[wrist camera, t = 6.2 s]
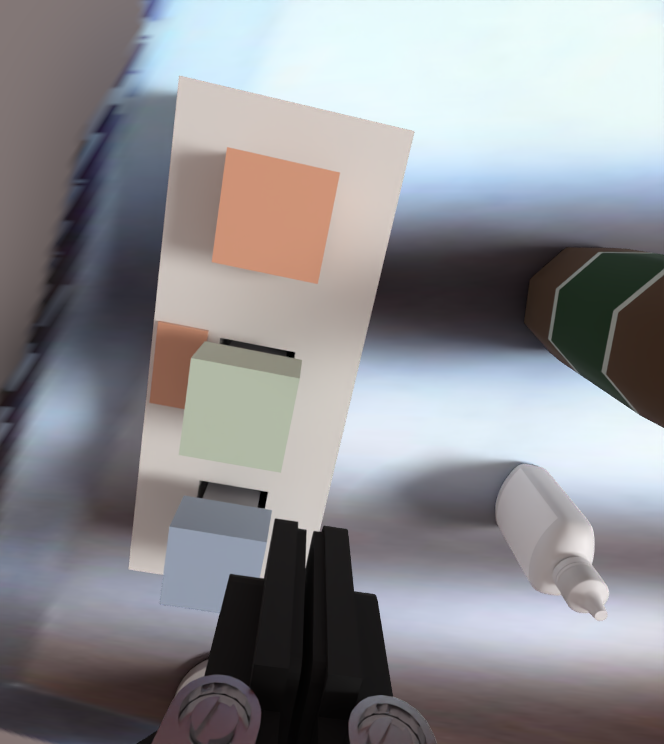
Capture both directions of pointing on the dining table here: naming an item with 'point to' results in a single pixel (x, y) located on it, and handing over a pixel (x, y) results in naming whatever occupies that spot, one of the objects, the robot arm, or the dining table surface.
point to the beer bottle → (605, 321)
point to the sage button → (239, 404)
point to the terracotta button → (274, 215)
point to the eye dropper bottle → (550, 539)
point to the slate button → (213, 546)
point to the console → (262, 300)
